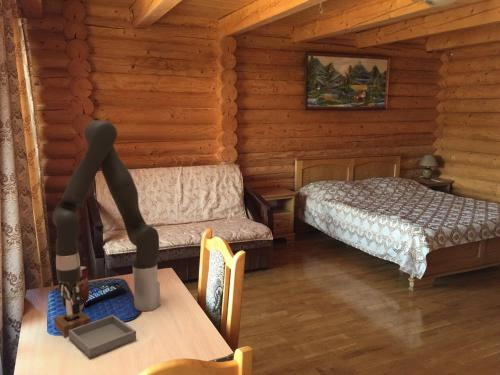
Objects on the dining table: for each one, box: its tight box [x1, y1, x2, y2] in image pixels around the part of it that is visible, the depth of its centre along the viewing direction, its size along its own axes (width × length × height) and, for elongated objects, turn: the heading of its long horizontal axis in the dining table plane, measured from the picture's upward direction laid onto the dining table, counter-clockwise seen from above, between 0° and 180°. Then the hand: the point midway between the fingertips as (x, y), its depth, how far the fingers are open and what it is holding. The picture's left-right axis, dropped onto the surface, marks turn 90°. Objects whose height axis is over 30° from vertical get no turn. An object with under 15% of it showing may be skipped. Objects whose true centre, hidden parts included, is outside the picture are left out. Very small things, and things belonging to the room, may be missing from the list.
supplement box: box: [76, 265, 90, 311], centre depth 164 cm, size 9×5×16 cm, turn 168°
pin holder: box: [53, 310, 91, 338], centre depth 150 cm, size 9×9×4 cm
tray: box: [68, 314, 137, 360], centre depth 142 cm, size 16×16×4 cm
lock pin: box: [64, 293, 77, 322], centre depth 149 cm, size 4×4×13 cm
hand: (71, 309), depth 149 cm, fingers open, 8 cm apart
